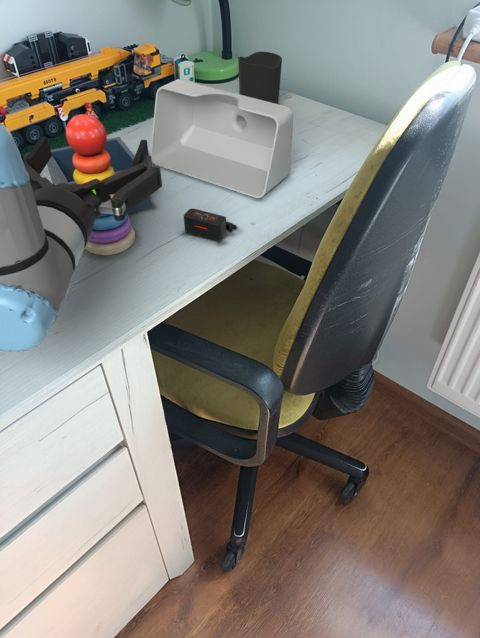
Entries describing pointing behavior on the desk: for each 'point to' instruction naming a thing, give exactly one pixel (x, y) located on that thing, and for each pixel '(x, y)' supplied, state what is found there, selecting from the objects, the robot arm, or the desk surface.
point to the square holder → (120, 161)
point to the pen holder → (260, 76)
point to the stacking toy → (95, 164)
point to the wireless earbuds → (207, 225)
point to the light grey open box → (222, 137)
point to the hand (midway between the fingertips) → (96, 147)
